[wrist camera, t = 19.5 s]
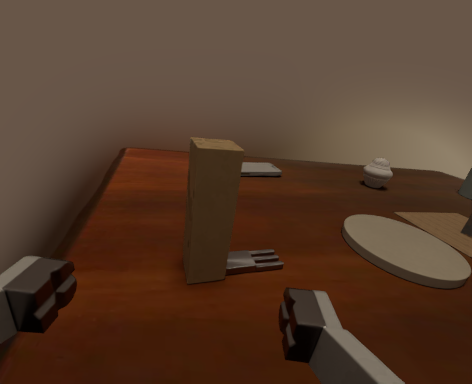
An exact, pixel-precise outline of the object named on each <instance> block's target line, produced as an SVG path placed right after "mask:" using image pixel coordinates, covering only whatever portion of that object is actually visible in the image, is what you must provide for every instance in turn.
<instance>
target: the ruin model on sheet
mask: <svg viewBox="0 0 472 384" xmlns="http://www.w3.org/2000/svg"><path fill="white" fill-rule="evenodd" d="M394 213H396V214H397V215H399V216H401V217H403V218H404V219H406V220H408V221H410V222H411V223H413V224H415V225H416V226H418V227H420V228H422V229H423V230H425V231H427V232H429V233H430V234H432V235H434V236H435V237H437V238H439V239H441V240H442V241H444V242H446V243H448V244H449V245H451V246H453V247H454V248H456V249H458V250H460V251H461V252H463V253H465V254H467V255H468V256H470V257H472V214H471V215H470V217H469V218H466V217H464V216H462V215H460V214H458V213H415V212H394Z"/></svg>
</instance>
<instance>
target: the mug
mask: <svg viewBox="0 0 472 384" xmlns="http://www.w3.org/2000/svg"><path fill="white" fill-rule="evenodd" d="M458 193H459V194H460V195H462V196H464V197H466V198H469V199H471V200H472V168H471V170H470V172H469V173H468V176H467V177H466V179H465V181H464V182H463V184H462V186H461V188H460V190H459V192H458Z"/></svg>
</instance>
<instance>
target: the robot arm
mask: <svg viewBox="0 0 472 384" xmlns="http://www.w3.org/2000/svg"><path fill="white" fill-rule="evenodd" d="M74 270H75V269H74V264H73V262H71V261H66V260H59V259H52V258H45V257H43V258H42V257H36V256H27V257H24V258H22V259H21V260H20V261H18V262H17V263H16V264H14V265H13V266H12V267H10V268H9V269H7V270H6V271H5V272H3V273H2V274H1V275H0V343H2V342H3V341H5V340H7V339H8V338H10V337H11V336H13V335H14V334H16V333H17V331H21V332H33V333H44V332H45V331H46V330H47V329H48V328H49V326H50V325H51V324H52V323H53V322H54V320H55V319H56V318H57V317H58V310H59V309H61V308H63V307H65V306H67V305H68V303H69V302H70V301H71V300H72V298H73V296H74V294H75V292H76V287H77V281H76V278H75V277H74V276H73V275H72V272H73V271H74ZM283 296H284V301H283V302H282V303H281V305H280V309H279V327H280V331H281V332H282V333H283V334H284V336H283V339H282V345H283V351H284V356H285V360H290V361H297V362H304V363H309V366H310V367H311V369H312V370H313V372H314V373H315V375H316V376H317V377H318V379H319V380H320V382H321V383H322V384H405V383H404V382H403V381H402V380H401V379H400V378H398V377H397V376H396V375H395V374H394V373H393V372H392V371H391V370H390V369H389V368H388V367H387V366H385V365H384V364H383V363H382V362H381V361H380V360H379V359H378V358H377V357H376V356H375V355H373V354H372V353H371V352H370V351H369V350H368V349H367V348H366V347H365V346H364V345H363V344H362V343H360V342H359V341H358V340H357V339H356V338H355V337H354V336H353V335H352V334H351V333H350V332H348V331H347V330H343V329H342V326H341V324H340V322H339V320H338V317H337V315H336V313H335V311H334V309H333V306H332V304H331V302H330V300H329V297H328V295H327V293H326V292H325V291H315V290H305V289H296V288H287V287H286V289H285V291H284V294H283Z"/></svg>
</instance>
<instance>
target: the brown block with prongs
mask: <svg viewBox="0 0 472 384" xmlns="http://www.w3.org/2000/svg"><path fill="white" fill-rule="evenodd" d="M243 157H244V150H243V149H241V148H240V147H239V146H238V145H236V144H235V143H233V142H232V141H231V140H219V139H206V138H194V137H191V139H190V154H189V169H188V185H187V200H186V215H185V231H184V246H183V264H184V269H185V275H186V280H187V284H193V283H200V282H208V281H216V280H223V279H225V275H230V274H238V273H246V272H254V271H256V272H258V271H266V270H274V269H282V268H283V265H284V264H283V262H282V261H278V260H279V257H278V256H277V255H274V250H273V249H268V250H257V251H248V250H245V251H234V252H229V247H230V241H231V235H232V228H233V222H234V215H235V209H236V202H237V196H238V190H239V183H240V177H241V170H242V164H243Z"/></svg>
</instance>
